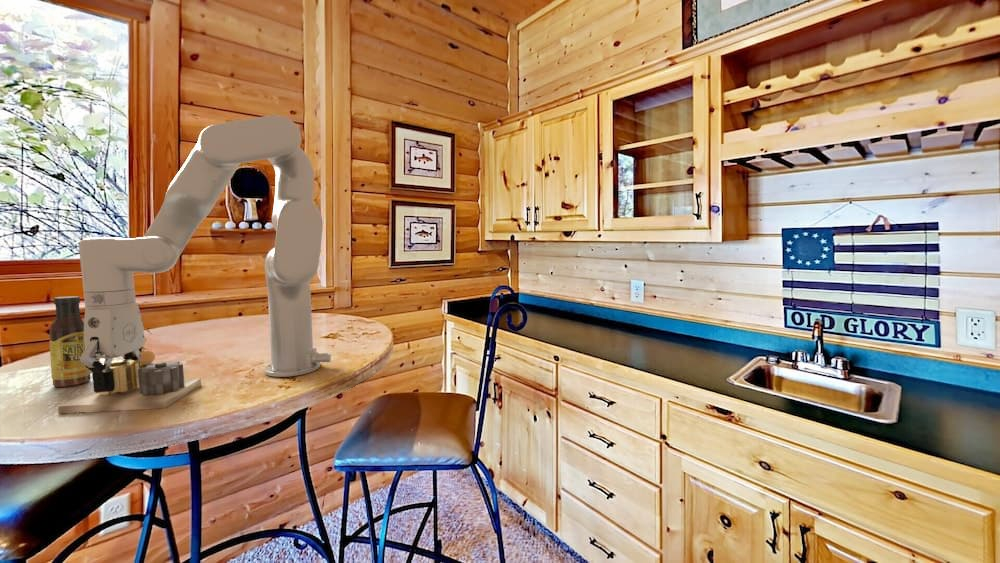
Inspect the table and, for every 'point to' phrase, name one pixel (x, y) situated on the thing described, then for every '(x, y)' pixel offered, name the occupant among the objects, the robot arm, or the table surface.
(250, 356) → the table surface
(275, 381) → the table surface
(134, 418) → the table surface
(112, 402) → the gear board
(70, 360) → the sauce bottle
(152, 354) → the figurine
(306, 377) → the table surface
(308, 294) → the robot arm
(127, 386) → the cream toothed wheel
